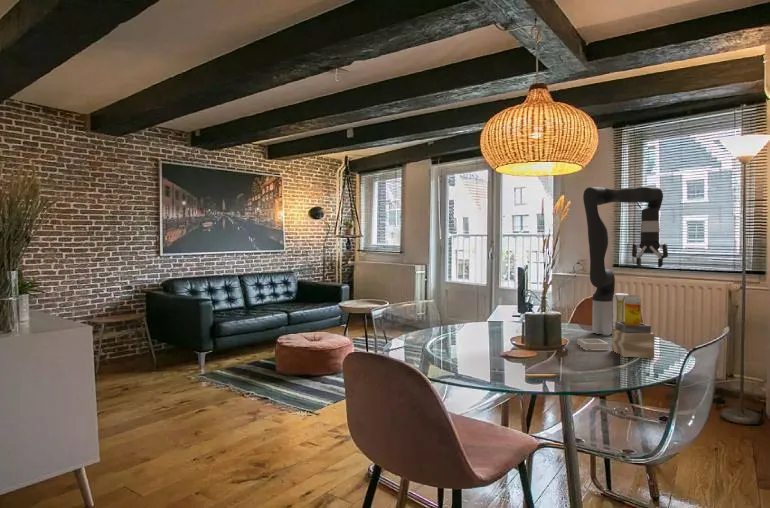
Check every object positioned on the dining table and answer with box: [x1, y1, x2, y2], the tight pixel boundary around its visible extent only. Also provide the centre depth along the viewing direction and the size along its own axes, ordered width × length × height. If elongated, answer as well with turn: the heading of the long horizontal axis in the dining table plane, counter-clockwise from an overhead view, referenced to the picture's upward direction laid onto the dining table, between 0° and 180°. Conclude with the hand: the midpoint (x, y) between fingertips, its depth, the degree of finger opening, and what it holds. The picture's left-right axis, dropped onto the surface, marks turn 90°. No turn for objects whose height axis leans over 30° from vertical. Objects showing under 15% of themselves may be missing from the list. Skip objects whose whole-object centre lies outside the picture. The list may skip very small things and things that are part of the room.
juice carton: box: [612, 292, 629, 328], centre depth 259 cm, size 8×9×19 cm
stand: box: [611, 322, 656, 359], centre depth 205 cm, size 12×12×13 cm
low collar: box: [576, 338, 610, 349], centre depth 218 cm, size 10×10×3 cm
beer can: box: [625, 294, 642, 326], centre depth 205 cm, size 6×6×15 cm
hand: (649, 266), depth 220 cm, fingers open, 8 cm apart
